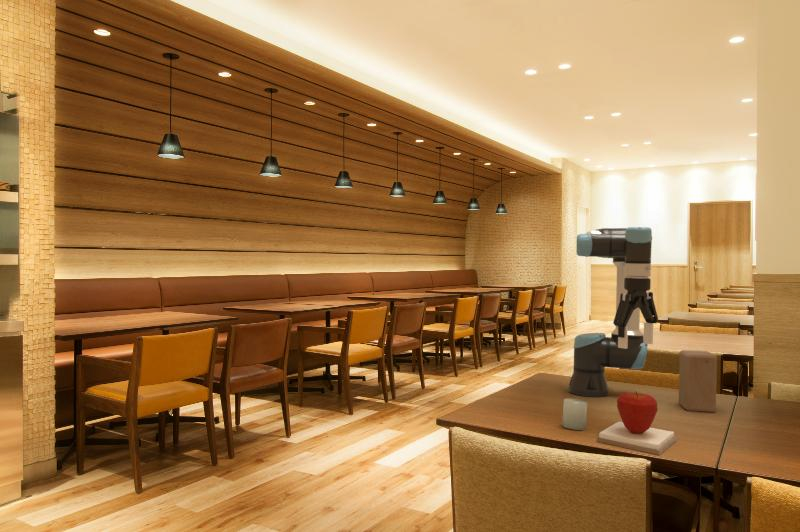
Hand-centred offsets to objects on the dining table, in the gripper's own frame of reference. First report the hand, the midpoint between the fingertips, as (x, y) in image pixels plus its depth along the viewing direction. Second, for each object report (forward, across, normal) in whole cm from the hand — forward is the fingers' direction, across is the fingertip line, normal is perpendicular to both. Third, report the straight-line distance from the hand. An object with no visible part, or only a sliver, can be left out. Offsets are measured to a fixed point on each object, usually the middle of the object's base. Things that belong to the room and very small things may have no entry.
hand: (635, 345), depth 180 cm
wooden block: (+27, +42, +2) cm, 50 cm away
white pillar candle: (+26, -15, +11) cm, 32 cm away
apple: (+23, -11, -8) cm, 27 cm away
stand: (+25, -11, -8) cm, 29 cm away
